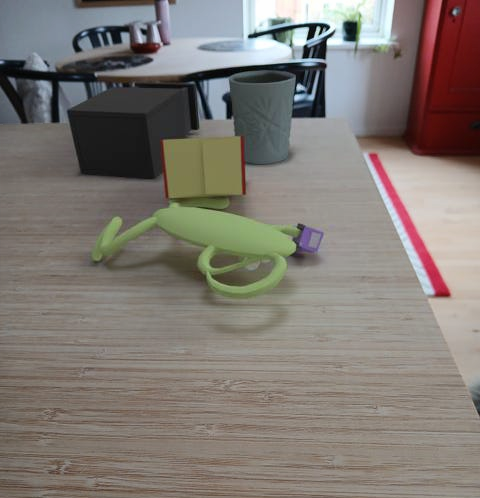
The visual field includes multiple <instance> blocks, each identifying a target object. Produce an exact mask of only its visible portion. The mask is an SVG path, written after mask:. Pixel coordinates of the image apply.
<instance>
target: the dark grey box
mask: <svg viewBox="0 0 480 498" xmlns="http://www.w3.org/2000/svg"><path fill="white" fill-rule="evenodd" d="M66 114H67V119H68V123H69V127H70V132H71V136H72V140H73V145H74V149H75V155H76V158H77V163H78V167H79V171H80V175H81V174H82V175H93V176H109V177H121V178H135V179H149V180H155V179H157V177H158V176H160V175H161V174H162V173H163V163H162V152H161V141H160V140H168V139H188V134H187V135H186V125H185V114H184V104H183V94H182V89H166V88H133V87H129V86H128V87H127V86H126V87H124V86H123V87H122V86H111V87H109V88H107V89H105V90H103V91H102V92H99V93H97V94H96V95H93V96H92V97H89V98H88V99H86V100H84V101H82V102H80V103H78V104H76V105H75V106H72V107H71V108H68V109H66Z"/></svg>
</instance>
